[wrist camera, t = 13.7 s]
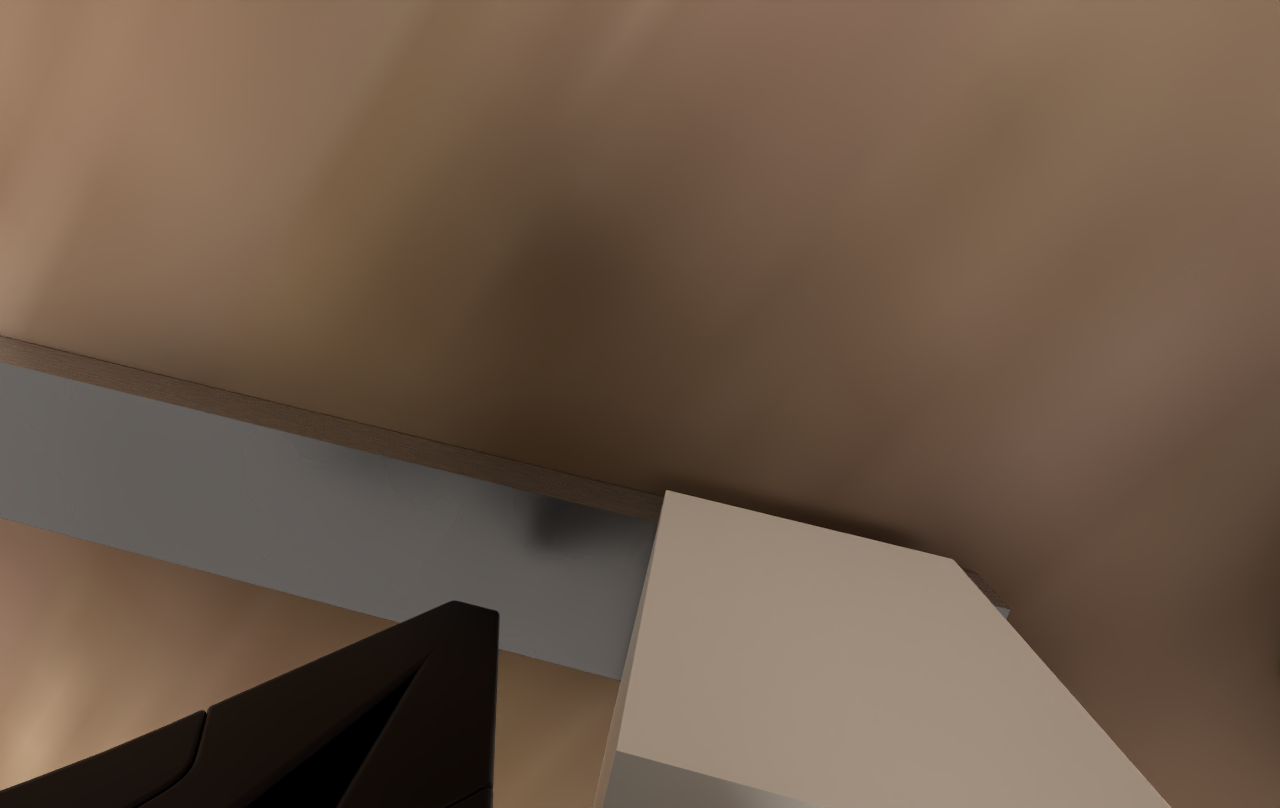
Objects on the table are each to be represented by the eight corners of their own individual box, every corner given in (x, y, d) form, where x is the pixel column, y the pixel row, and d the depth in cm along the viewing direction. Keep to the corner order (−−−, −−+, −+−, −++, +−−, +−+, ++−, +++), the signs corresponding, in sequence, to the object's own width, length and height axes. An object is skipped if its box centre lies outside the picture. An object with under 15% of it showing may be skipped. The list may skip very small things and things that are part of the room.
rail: (976, 572, 10) (1010, 609, 9) (922, 715, 11) (947, 766, 10) (-52, 323, 12) (-136, 328, 10) (-45, 465, 12) (-123, 485, 11)
